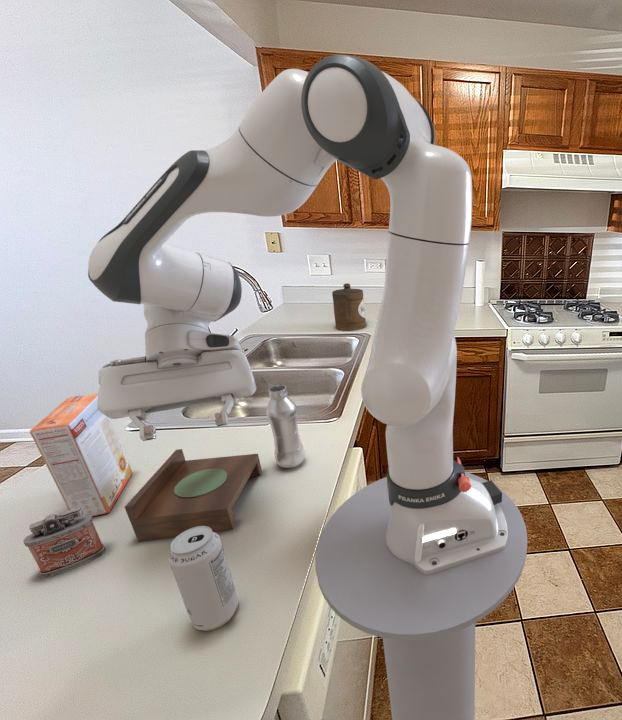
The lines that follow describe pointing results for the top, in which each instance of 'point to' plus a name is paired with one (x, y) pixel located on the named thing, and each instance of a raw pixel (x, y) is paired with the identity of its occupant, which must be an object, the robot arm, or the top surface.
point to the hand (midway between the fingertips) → (186, 431)
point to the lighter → (64, 542)
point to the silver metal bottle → (284, 428)
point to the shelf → (190, 495)
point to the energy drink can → (203, 577)
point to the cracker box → (83, 455)
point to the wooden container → (349, 308)
